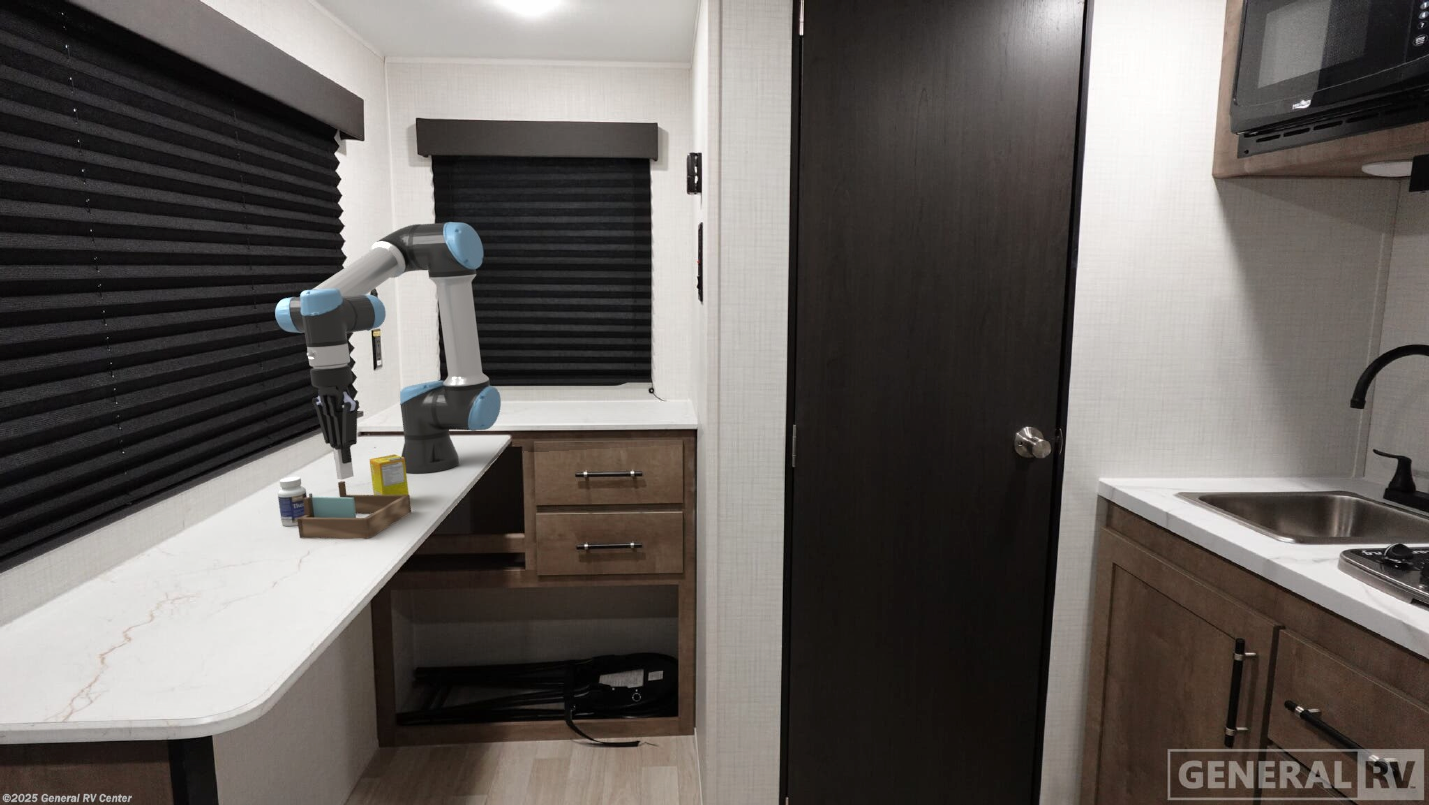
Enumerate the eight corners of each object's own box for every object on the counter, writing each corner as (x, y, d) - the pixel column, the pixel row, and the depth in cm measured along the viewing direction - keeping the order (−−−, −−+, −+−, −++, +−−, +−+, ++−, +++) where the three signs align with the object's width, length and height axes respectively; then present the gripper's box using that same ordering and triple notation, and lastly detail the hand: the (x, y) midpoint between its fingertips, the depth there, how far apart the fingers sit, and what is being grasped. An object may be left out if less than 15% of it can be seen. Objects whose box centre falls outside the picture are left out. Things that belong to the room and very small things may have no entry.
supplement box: (399, 498, 184) (394, 453, 182) (410, 503, 180) (405, 457, 178) (373, 504, 180) (368, 458, 178) (384, 509, 175) (379, 462, 174)
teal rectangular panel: (357, 530, 161) (353, 497, 159) (355, 531, 160) (351, 498, 159) (318, 529, 162) (314, 496, 161) (316, 530, 162) (311, 497, 161)
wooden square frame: (348, 511, 175) (344, 477, 173) (411, 512, 173) (407, 477, 171) (299, 538, 158) (294, 500, 157) (368, 538, 156) (364, 500, 155)
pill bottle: (297, 527, 165) (291, 482, 164) (276, 526, 166) (269, 482, 165) (315, 519, 170) (310, 475, 169) (294, 518, 171) (288, 475, 170)
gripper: (294, 367, 159) (310, 478, 163) (331, 370, 152) (347, 486, 156) (329, 361, 165) (343, 469, 169) (366, 364, 158) (380, 476, 162)
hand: (345, 477), depth 163 cm, fingers closed
